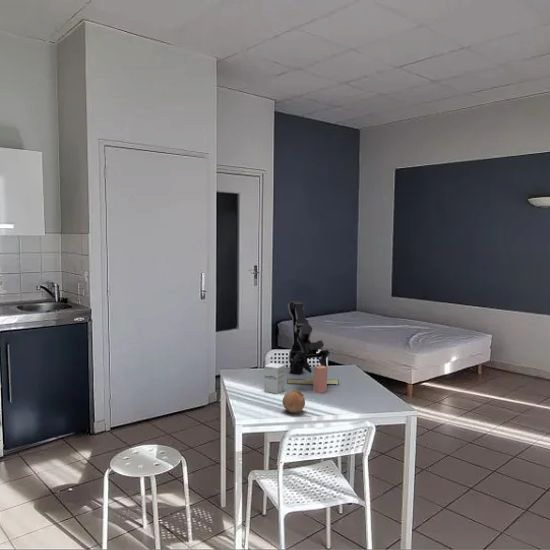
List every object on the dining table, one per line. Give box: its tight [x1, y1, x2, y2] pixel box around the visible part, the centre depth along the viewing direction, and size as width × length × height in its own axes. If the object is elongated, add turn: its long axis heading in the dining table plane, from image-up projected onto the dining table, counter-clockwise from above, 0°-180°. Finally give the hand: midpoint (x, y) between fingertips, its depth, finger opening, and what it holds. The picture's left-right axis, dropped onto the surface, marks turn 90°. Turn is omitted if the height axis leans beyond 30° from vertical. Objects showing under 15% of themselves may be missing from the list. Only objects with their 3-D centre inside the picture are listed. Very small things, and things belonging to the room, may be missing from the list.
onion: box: [282, 390, 306, 414], centre depth 217 cm, size 10×9×10 cm
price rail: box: [286, 378, 340, 386], centre depth 259 cm, size 3×26×2 cm, turn 90°
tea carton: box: [312, 364, 328, 394], centre depth 246 cm, size 4×5×12 cm
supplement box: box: [263, 362, 286, 395], centre depth 245 cm, size 7×7×13 cm
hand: (318, 371), depth 247 cm, fingers open, 9 cm apart
